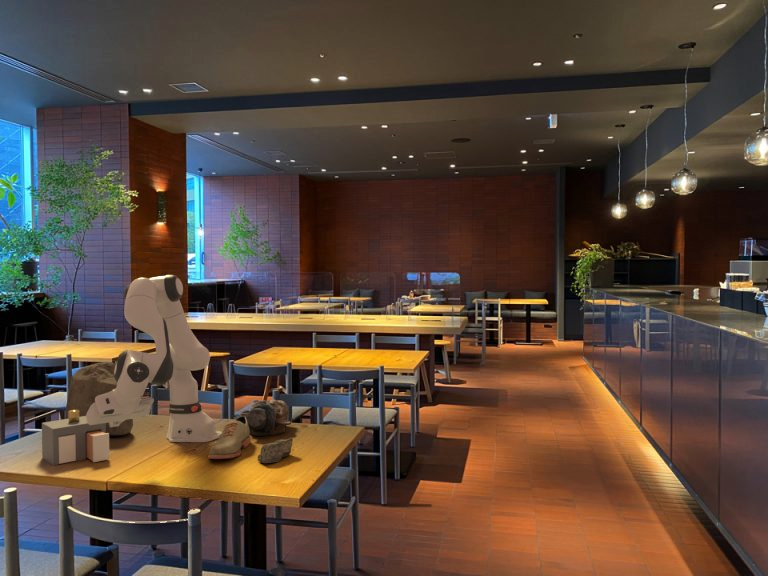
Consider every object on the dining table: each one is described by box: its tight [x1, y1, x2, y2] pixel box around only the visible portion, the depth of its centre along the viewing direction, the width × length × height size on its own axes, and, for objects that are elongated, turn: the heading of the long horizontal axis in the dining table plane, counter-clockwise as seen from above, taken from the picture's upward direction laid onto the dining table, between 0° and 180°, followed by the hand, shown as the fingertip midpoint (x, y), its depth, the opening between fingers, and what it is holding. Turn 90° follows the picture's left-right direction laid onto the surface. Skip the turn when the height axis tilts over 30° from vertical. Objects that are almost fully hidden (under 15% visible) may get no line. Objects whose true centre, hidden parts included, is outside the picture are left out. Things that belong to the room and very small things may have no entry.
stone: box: [64, 361, 134, 437], centre depth 260 cm, size 25×34×30 cm
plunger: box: [85, 430, 110, 463], centre depth 220 cm, size 12×5×9 cm, turn 45°
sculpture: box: [240, 398, 292, 438], centre depth 255 cm, size 25×21×14 cm
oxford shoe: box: [207, 415, 252, 460], centre depth 226 cm, size 11×32×12 cm, turn 0°
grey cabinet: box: [41, 416, 106, 466], centre depth 222 cm, size 13×18×13 cm
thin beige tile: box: [58, 434, 77, 465], centre depth 218 cm, size 12×5×9 cm, turn 45°
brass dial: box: [68, 410, 79, 423], centre depth 222 cm, size 4×4×4 cm
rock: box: [257, 437, 293, 464], centre depth 218 cm, size 17×7×10 cm
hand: (113, 425), depth 206 cm, fingers closed
